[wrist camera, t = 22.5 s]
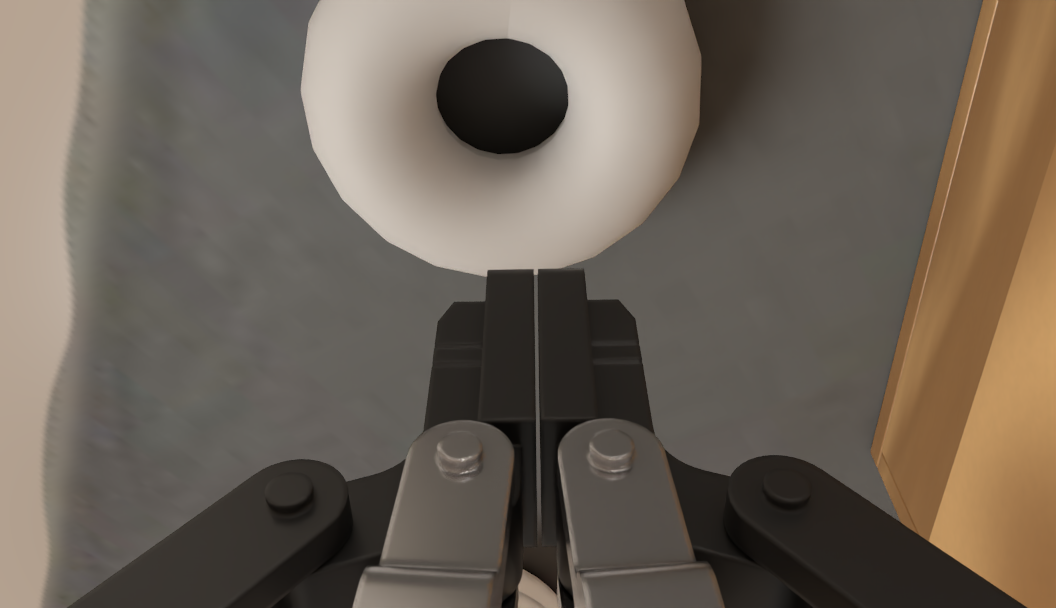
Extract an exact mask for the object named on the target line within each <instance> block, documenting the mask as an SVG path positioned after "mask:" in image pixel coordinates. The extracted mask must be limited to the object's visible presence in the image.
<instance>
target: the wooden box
mask: <svg viewBox="0 0 1056 608" xmlns="http://www.w3.org/2000/svg"><path fill="white" fill-rule="evenodd" d="M1055 144H1056V0H983V3H982V7H981V11H980V15H979V19H978V23H977V27H976V31H975V35H974V39H973V43H972V47H971V51H970V55H969V59H968V63H967V67H966V71H965V75H964V79H963V83H962V87H961V91H960V95H959V99H958V103H957V107H956V111H955V115H954V119H953V123H952V127H951V131H950V135H949V139H948V143H947V147H946V151H945V155H944V159H943V163H942V167H941V171H940V175H939V179H938V183H937V187H936V191H935V195H934V199H933V203H932V207H931V211H930V215H929V219H928V223H927V227H926V231H925V235H924V239H923V243H922V247H921V251H920V255H919V259H918V263H917V267H916V271H915V275H914V279H913V283H912V287H911V291H910V295H909V299H908V303H907V307H906V311H905V315H904V319H903V323H902V327H901V331H900V335H899V339H898V343H897V347H896V351H895V355H894V359H893V363H892V367H891V371H890V375H889V379H888V383H887V387H886V391H885V395H884V399H883V403H882V407H881V411H880V415H879V419H878V423H877V427H876V431H875V435H874V439H873V443H872V447H871V455H872V457H873V459H874V462H875V464H876V466H877V467H878V470H879V473H880V475H881V477H882V480H883V482H884V484H885V487H886V489H887V491H888V494H889V496H890V498H891V500H892V503H893V505H894V507H895V510H896V512H897V514H898V517H899V519H900V521H901V523H902V524H904V525H905V526H906V527H908V528H909V529H911V530H912V531H914V532H915V533H917V534H918V535H920V536H921V537H923V538H924V539H926V540H927V541H929V538H930V535H931V532H932V529H933V526H934V523H935V520H936V516H937V513H938V510H939V507H940V504H941V501H942V498H943V495H944V491H945V488H946V485H947V482H948V479H949V476H950V473H951V469H952V466H953V463H954V460H955V457H956V454H957V451H958V448H959V444H960V441H961V438H962V435H963V432H964V429H965V426H966V423H967V419H968V416H969V413H970V410H971V407H972V404H973V401H974V397H975V394H976V391H977V388H978V385H979V382H980V379H981V376H982V372H983V369H984V366H985V363H986V360H987V357H988V354H989V351H990V347H991V344H992V341H993V338H994V335H995V332H996V329H997V325H998V322H999V319H1000V316H1001V313H1002V310H1003V307H1004V304H1005V300H1006V297H1007V294H1008V291H1009V288H1010V285H1011V282H1012V279H1013V275H1014V272H1015V269H1016V266H1017V263H1018V260H1019V257H1020V253H1021V250H1022V247H1023V244H1024V241H1025V238H1026V235H1027V232H1028V228H1029V225H1030V222H1031V219H1032V216H1033V213H1034V210H1035V207H1036V203H1037V200H1038V197H1039V194H1040V191H1041V188H1042V185H1043V181H1044V178H1045V175H1046V172H1047V169H1048V166H1049V163H1050V160H1051V156H1052V153H1053V150H1054V147H1055Z"/></svg>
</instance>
